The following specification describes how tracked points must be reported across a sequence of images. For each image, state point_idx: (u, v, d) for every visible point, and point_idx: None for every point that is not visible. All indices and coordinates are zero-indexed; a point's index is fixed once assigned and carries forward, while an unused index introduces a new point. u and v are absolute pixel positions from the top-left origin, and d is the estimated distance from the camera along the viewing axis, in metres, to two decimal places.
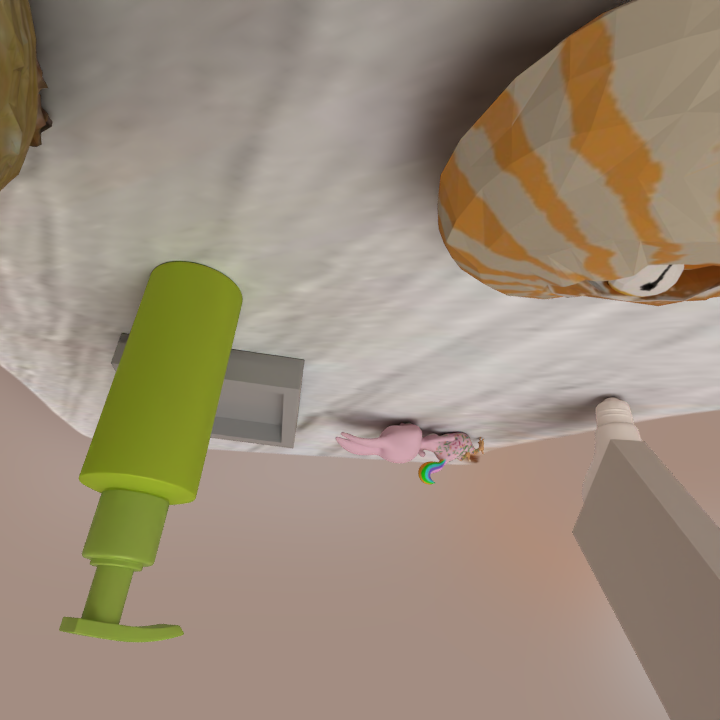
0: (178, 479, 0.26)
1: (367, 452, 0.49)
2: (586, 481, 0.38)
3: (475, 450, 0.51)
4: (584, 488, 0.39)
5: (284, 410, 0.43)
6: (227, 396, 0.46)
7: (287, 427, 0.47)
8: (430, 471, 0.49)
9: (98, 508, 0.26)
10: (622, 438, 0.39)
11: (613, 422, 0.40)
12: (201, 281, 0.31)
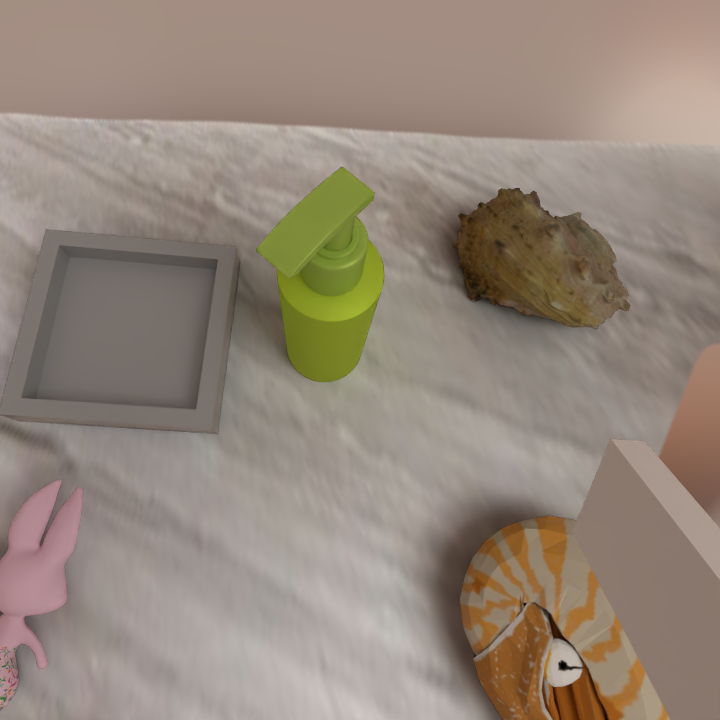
0: (362, 314, 0.28)
1: (26, 531, 0.32)
2: None
3: None
4: None
5: (146, 408, 0.35)
6: (124, 340, 0.38)
7: (85, 409, 0.35)
8: None
9: None
10: None
11: None
12: (360, 354, 0.39)
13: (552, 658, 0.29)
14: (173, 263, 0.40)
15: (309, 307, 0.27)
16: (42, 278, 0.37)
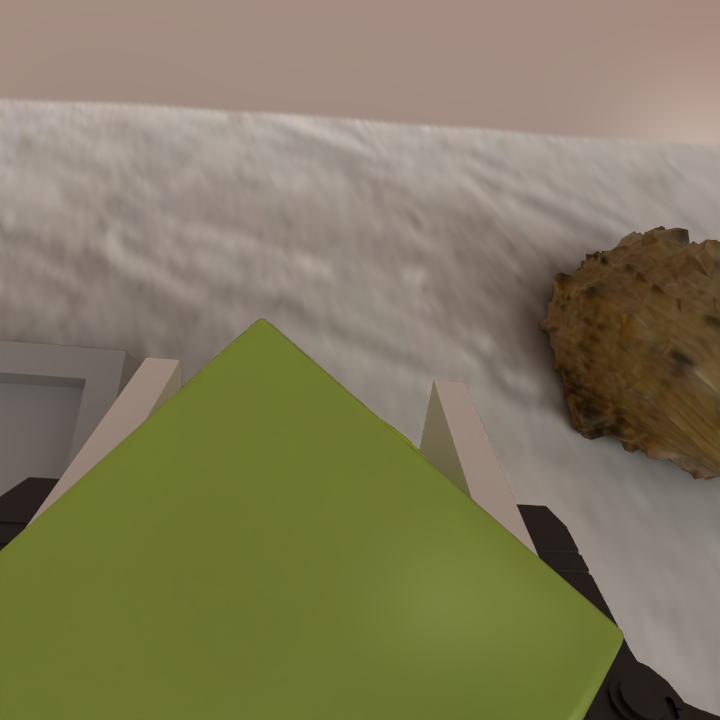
0: None
1: None
2: None
3: None
4: None
5: None
6: None
7: None
8: None
9: None
10: None
11: None
12: None
13: None
14: (3, 380, 0.20)
15: None
16: None
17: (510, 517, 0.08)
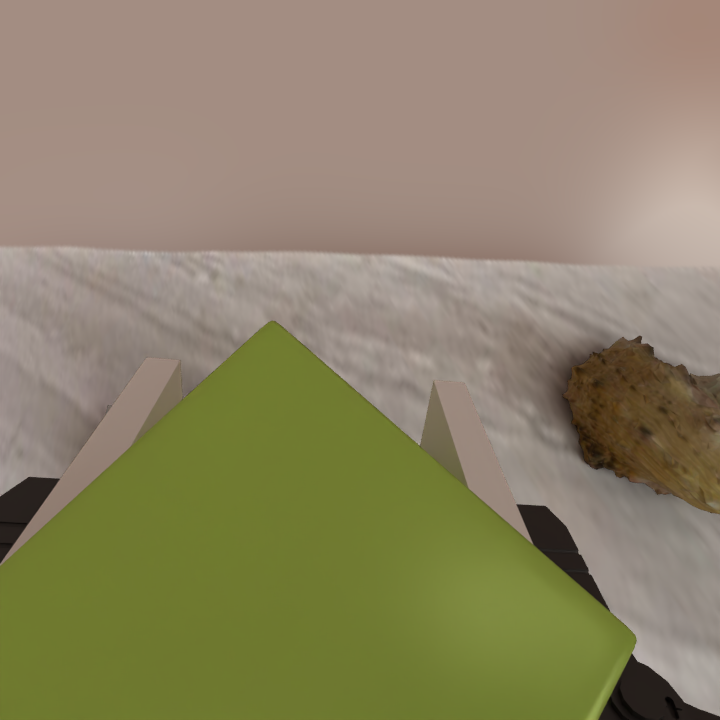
0: None
1: None
2: None
3: None
4: None
5: None
6: None
7: None
8: None
9: None
10: None
11: None
12: None
13: None
14: None
15: None
16: None
17: (510, 517, 0.08)
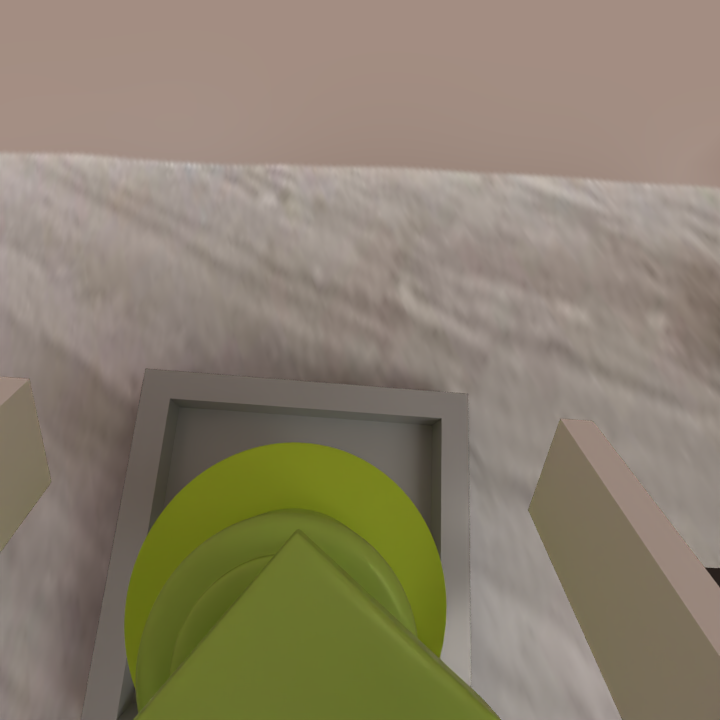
0: None
1: None
2: None
3: None
4: None
5: None
6: None
7: None
8: None
9: None
10: None
11: None
12: None
13: None
14: (355, 418, 0.24)
15: None
16: (144, 464, 0.21)
17: (711, 591, 0.08)
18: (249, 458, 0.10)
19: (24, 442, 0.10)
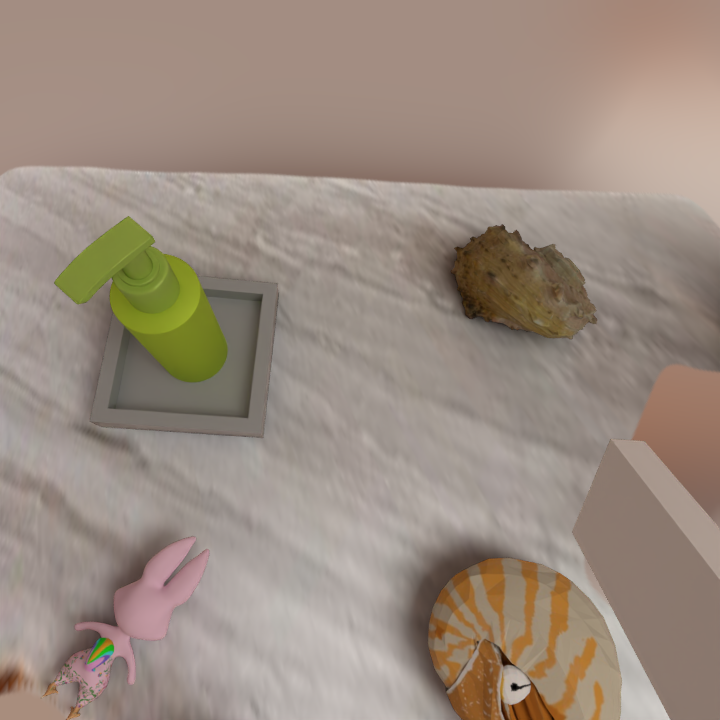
0: (180, 328, 0.34)
1: (160, 571, 0.39)
2: None
3: (78, 709, 0.38)
4: None
5: (208, 417, 0.44)
6: None
7: (159, 417, 0.43)
8: (107, 657, 0.36)
9: None
10: None
11: None
12: (222, 358, 0.46)
13: (505, 682, 0.36)
14: (224, 296, 0.48)
15: (133, 322, 0.34)
16: None
17: None
18: None
19: None
